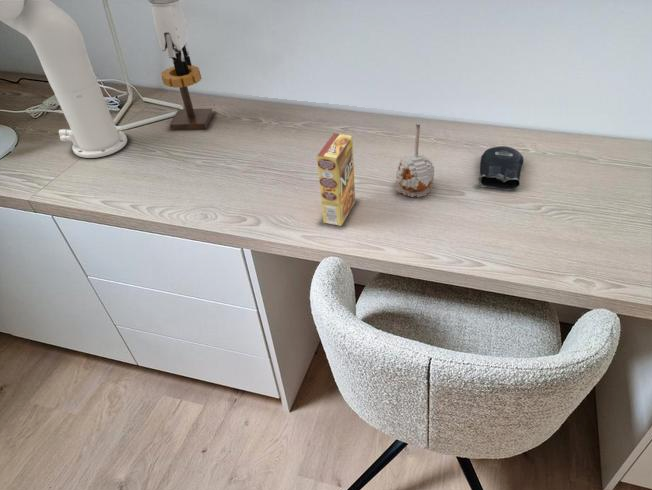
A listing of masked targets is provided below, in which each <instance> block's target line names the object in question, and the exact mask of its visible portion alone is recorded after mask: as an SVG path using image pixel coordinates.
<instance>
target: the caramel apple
mask: <svg viewBox="0 0 652 490" xmlns="http://www.w3.org/2000/svg"><path fill="white" fill-rule="evenodd" d="M420 130H421V124H420V122H418V123H416V124H415V134H414V135H415V137H414V152H413V153H409V154H406V155H405V156H404V157H403V158H401V159H400V160H399V162H398V166H397V170H396V171H395V178H396V182H395V189H396V191H397V192H398V193H399V194H403V195H404V196H407V197H411V198H413V197H417V198H420V197H423V196H424V197H425V196H427V195H428V193H429V194H430V193H431V191H432V190H433V188H434V184H433V180H434V179H435V166H434V165H433V162H432V161H431V160H430V159H429V158H428V157H426V156H425V154H421V153H420V152H419V147H420V145H419V144H420V132H421V131H420Z"/></svg>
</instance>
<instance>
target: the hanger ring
mask: <svg viewBox="0 0 652 490" xmlns="http://www.w3.org/2000/svg"><path fill="white" fill-rule="evenodd" d="M188 69H189V72H190V73H189V74H188V75H184V76H177V74H176V70H175V67H174V66H170V67H169V68H166V69H165V70H162V71H161V73H160V75H161V80H162V83H163V85H164V86H166V87H168V88H175V89H176V88H177V89H178V88H179V87H183V86H185V87H190V86H194V85H196V84H198V83H199V82H200V81H201V80H202V75H201V71H200V67H198V66H195V65H193V64H192V65H191V66H189V65H188ZM179 89H180V88H179Z"/></svg>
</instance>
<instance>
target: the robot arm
mask: <svg viewBox="0 0 652 490" xmlns="http://www.w3.org/2000/svg"><path fill="white" fill-rule="evenodd" d="M147 1H148V4H149V6H151V13H152V19H153V24H154V29H155V33H156V36H157V40H158V45H159V48H160V50H161V51H162V52H165V51H166V50H167V53H168V58H169V59H171V60H172V63H173V67H175V70H176V74H177V76H184V75H188V74H189V73H190V72H189V69H188V65H189V66H191V65H193V64H192V61H191V57H190V52H189V48H188V41H189V39H190V34H189V33H190V32H189V28H188V23H187V19H186V16H185V13H184V10H183V7H182V2H183V0H147ZM0 22H2V23H4V24H5V25H7V26H9V27H10V28H11V29H13V30H15V31H17V32H19V33H20V34H22V35H23V36H24V37H26V38H27V39H28V40H29V41H30V43H31V45H32V47H33V49H34V50H35V53H36V55H37V57H38V60H39V62H40V65H41V67H42V69H43V72H44V74H45V76H46V79H47V81H48V83H49V86H50V87H51V90H52V91H53V93H54V95H55V98H56V100H57V102H58V104H59V107H60V109H61V111H62V113H63V116H64V118H65V120H66V122H67V124H68V126H69V129H68V128H65V129H64V128H63V129H62V128H60V129H59V130H58V135H59V140H60V141H61V142H71V143H72V145H71V149H72V151H73V153H74V155H76V156H78V157H80V158H86V159H95V158H102V157H107V156H110V155H113V154H115V153H117V152H119V151H120V150H122V149H123V148H124V147H125V146H126V145H127V143H128V138H127V135H126V134H125V133H124V132H123V131H122V130H118V129H117V127H116V125H115V122H114V119H113V116H112V114H111V111H110V110H109V106H108V104H107V101H106V99H105V96H104V94H103V91H102V89H101V87H100V84H99V81H98V79H97V77H96V73H95V71H94V69H93V66H92V63H91V60H90V57H89V54H88V51H87V48H86V44H85V40H84V37H83V34H82V32H81V30H80V28H79V26H78V25H77V23H76V21H75V20H74V19H73V18H72V17H71V16H70V15H69V14H68V13H67V12H66V11H64V10H63V9H62V8H61V7H59V6H58V5H57V4H56V3H54V2H53V1H51V0H0Z"/></svg>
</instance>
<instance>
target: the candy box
mask: <svg viewBox="0 0 652 490" xmlns="http://www.w3.org/2000/svg"><path fill="white" fill-rule="evenodd" d="M353 137H354V136H353V135H348V134H343V133H333V134H332V135H331V136H330V138H329V139H328V140H327V142H326V143H325V145H323V147H322V148H321V150H320V151H319V152H318V154H316V161H317V173H318V181H319V191H320V201H321V211H322V220H323V223H324V224H329V225H334V226H339V227H341V226H343V224H344V222H345V221H346V219H347V217H348V215H349V214H350V212H351V210H352V209H353V207H354V205H355V204H356V187H355V186H356V185H355V167H354V165H355V164H354V144H353V143H354V140H353Z"/></svg>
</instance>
